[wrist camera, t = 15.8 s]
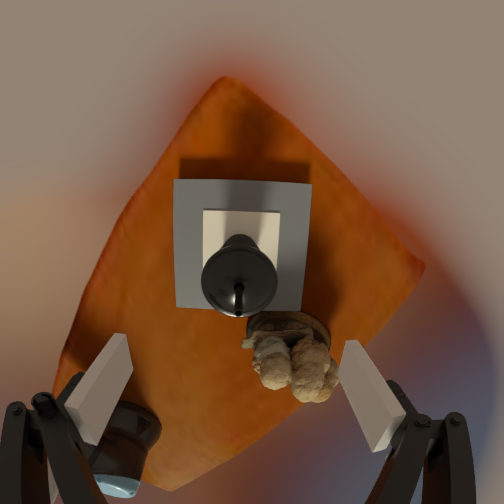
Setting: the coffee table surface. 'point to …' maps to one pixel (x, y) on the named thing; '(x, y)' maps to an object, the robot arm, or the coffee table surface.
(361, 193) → the coffee table surface
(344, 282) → the coffee table surface
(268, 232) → the base
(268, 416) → the coffee table surface
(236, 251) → the drinking cup
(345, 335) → the coffee table surface
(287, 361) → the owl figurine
